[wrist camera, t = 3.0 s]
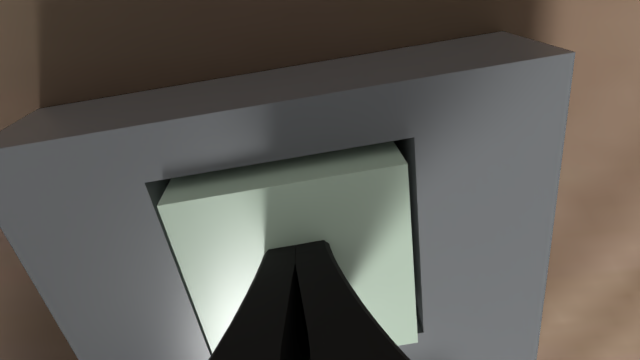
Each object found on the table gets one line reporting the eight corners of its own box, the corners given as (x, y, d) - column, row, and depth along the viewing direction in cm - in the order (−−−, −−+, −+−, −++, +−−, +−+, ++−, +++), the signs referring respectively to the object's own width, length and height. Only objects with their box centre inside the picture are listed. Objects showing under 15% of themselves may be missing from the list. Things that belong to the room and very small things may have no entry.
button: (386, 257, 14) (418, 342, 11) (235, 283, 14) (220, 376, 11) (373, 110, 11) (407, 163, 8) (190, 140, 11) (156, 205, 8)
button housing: (483, 434, 19) (516, 512, 16) (212, 480, 18) (201, 567, 16) (502, 30, 11) (575, 52, 8) (38, 108, 11) (-42, 155, 8)
